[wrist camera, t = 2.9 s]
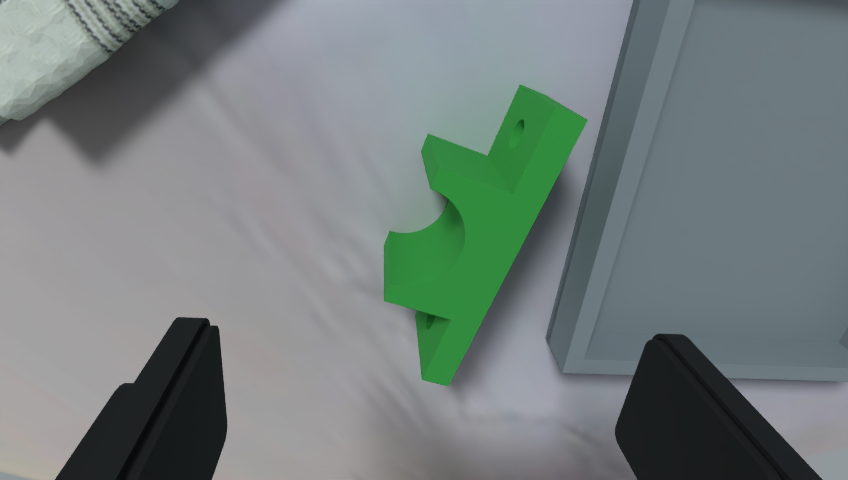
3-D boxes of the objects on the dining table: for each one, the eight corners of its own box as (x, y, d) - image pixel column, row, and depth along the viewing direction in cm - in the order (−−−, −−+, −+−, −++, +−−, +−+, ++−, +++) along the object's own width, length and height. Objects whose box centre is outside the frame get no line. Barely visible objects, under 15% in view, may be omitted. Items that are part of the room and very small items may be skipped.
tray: (1064, -40, 18) (1161, -46, 16) (837, 349, 26) (880, 382, 24) (660, -101, 16) (704, -117, 14) (545, 338, 24) (562, 372, 22)
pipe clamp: (456, 57, 18) (478, 72, 14) (543, 94, 19) (589, 118, 15) (361, 299, 22) (357, 366, 18) (437, 321, 23) (449, 389, 19)
